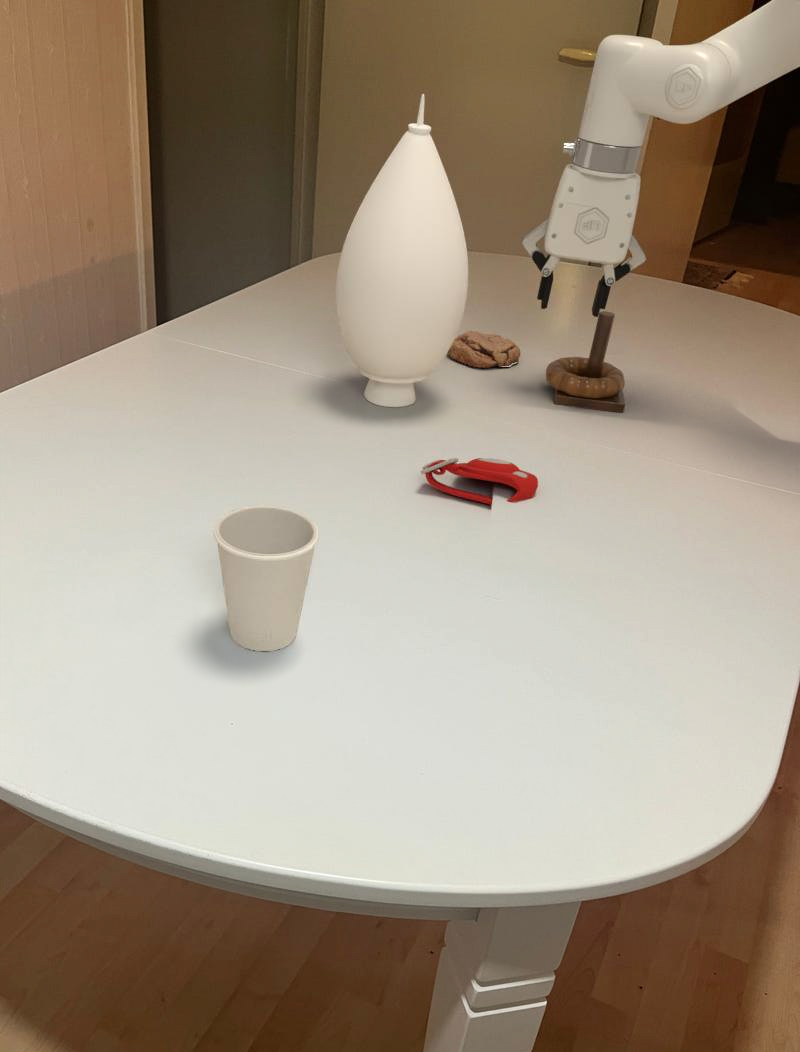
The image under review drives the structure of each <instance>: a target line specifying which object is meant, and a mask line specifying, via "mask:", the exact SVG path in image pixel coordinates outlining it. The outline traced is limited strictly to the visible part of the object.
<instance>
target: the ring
mask: <svg viewBox="0 0 800 1052" xmlns="http://www.w3.org/2000/svg"><path fill="white" fill-rule="evenodd" d="M588 360H589V357H582V356H567V357H560V358H558V359H556V360H553V361H552V362H550V363H548V365H547V366H546V369H545V379H546V382H547V384H548V385H550V386H551V387H552V388H554V390H555V389H557V390H558V391H560V392H563V393H566V394H569V395H572V396H575V397H582V398H590V399H597V398H608V397H612V396H613V395H615V394H617V393H619V392H620V391H622V389H623V390H624V388H625V384H626V381H625V376H624V373H623V371H622V370H621V369H619V368H618V367H616V366H615V365H613V364H611V363H608V362H605V361H604V363H603V367H602V371H601V375H600V378H588V377H585V373H586V368H587V364H588Z"/></svg>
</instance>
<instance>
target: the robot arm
mask: <svg viewBox="0 0 800 1052" xmlns="http://www.w3.org/2000/svg"><path fill="white" fill-rule="evenodd" d="M798 68H800V0H770V1H768V2H767V3H766V4H764V5H762V6H760V7H759V8H757V9H756V10H754V11H752V12H751V13H749V14H748V15H746V16H744V17H743V18H741V19H739V20H738V21H736V22H734V23H733V24H731V25H729V26H727V27H726V28H723V29H722V30H720V31H718V32H716V33H715V34H713V35H712V36H710V37H708V38H706V39H704V40H702V41H701V42H696V43H692V44H681V45H671V44H669V45H668V44H667V45H665V44H663V43H662V42H661V41H659V40H657V39H654V38H650V37H644V36H637V35H628V34H611V35H608V36H606V37H604V38H603V39H602V41H601V42H600V43H599V45H598V48H597V51H596V54H595V58H594V64H593V68H592V73H591V77H590V82H589V85H588V91H587V94H586V98H585V103H584V108H583V113H582V118H581V122H580V127H579V130H578V134H577V135H578V136H577V138H576V139H574V141H570V142H569V141H564V142H563V145H562V146H563V147H562V151H561V155H565V156H567V157H570V160H572V162H571V163H570V164H566V166H565V167H564V169H563V172H562V174H561V177H560V179H559V181H558V182H559V183H558V186H557V189H556V192H555V195H554V198H553V202H552V205H551V209H550V213H549V216H548V218H547V219H546V220H545V221H543V222H542V223H540V225H538V226H536V228H534V229H533V230H531V231H530V232H529V233H527V234H526V235H525V236H524V237H523V238H522V241H521V242H522V246H523V247H524V249H525V250H526V252H527V253H528V255H529V256H530V257H531V259H532V261H533V263H534V265H536V267H537V269H538V270H539V272H540V274H541V277H540V282H539V287H538V291H537V295H536V300H538V301H540V309H541V310H546V309H547V308H548V305H549V300H550V297H551V291H552V287H553V282H554V269H555V268H556V266H557V264H558V263H559V261H560V260H561V259H567V260H574V261H581V262H587V263H596V264H602V267H603V275H601V278H600V279H599V280H598V283H597V287H596V290H595V295H594V299H593V303H592V306H591V315H592V316H593V318H598V316H599V312H601V310H605V309H606V307H607V303H608V299H609V296H610V292H611V288H612V287H613V286H614V285H615V283H617V282H618V281H619V280H621V279H623V278H624V277H625V276H627V275H628V274H630V272H631V271H633V270H635V269H636V268H638V267H639V266H641V265H642V264H644V263H645V262H646V260H647V256H646V253H645V251H644V250H643V248H642V247H641V245H640V243H639V242H638V240H637V238H636V236H635V234H634V233H633V229H634V225H635V221H636V215H637V210H638V205H639V199H640V191H641V178H642V177H641V176H640V175H639V174H638V173H636V171H637V167H638V163H639V159H640V156H641V151H642V148H643V144H644V140H645V136H646V131H647V127H648V124H649V120H650V117H651V116H652V117H655V118H658V119H661V120H664V121H666V122H670V123H674V124H680V125H687V124H693V123H696V122H698V121H701V120H703V119H705V118H706V117H708V116H709V115H711V114H714V113H715V112H717V111H719V110H721V109H723V108H725V107H726V106H728V105H730V104H732V103H734V102H735V101H738V100H740V98H743V97H744V96H747V95H748V94H750V93H752V92H754V91H756V90H758V89H759V88H762V87H763V86H765V85H767V84H769V83H771V82H772V81H774V80H777V79H778V78H780V77H782V76H784V75H786V74H788V73H790V72H792V71H793V70H796V69H798ZM543 238H544V240H543V241H544V242H543V243H544V244H543V246H544V251H545V252H546V253H547V256H545V255H544V253H543V252H542V250H541V249H540V248H539V246H538V244H537V243H538V241H540V240H541V239H543ZM628 250H629V252H630V254H631V256H629V257H628V258H627V259H626V256H627V253H628ZM625 259H626V260H625ZM624 260H625V261H624ZM614 265H616V266H615V267H614Z"/></svg>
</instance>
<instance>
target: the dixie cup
mask: <svg viewBox="0 0 800 1052" xmlns="http://www.w3.org/2000/svg"><path fill="white" fill-rule="evenodd" d="M212 531H213V537H214V540H215V542H216V544H217V551H218V557H219V564H220V570H221V577H222V586H223V591H224V601H225V606H226V613H227V619H228V627H229V635H230V637H231V639H232V641H233V642H235V644H237V645H238V646H240V647H241V648H244V649H246V648H247V649H246V650H249V649H250V651H253V650H255V651H254V652H260V651H269V652H275V650H276V651H279V650H278V649H280V650H282V649H285V648H287V647H288V646H289V645H291V644H292V643H294V642H295V640H296V637H297V634H298V629H299V625H300V624H299V623H300V620H301V614H302V610H303V606H304V600H305V596H306V591H307V585H308V582H309V581H308V580H309V576H310V571H311V567H312V561H313V556H314V551H315V546H316V545H317V544H318V542H319V538H320V530H319V527H318V526H317V525H316V523H315V522H314V521H313V520H312V519H311V518H310V517H308V516H307V515H306V514H304V513H302V512H301V511H297V510H296V509H295V510H294V509H292V508H289V507H284V506H279V505H270V504H268V505H267V504H262V505H261V504H260V505H259V504H258V505H247V506H242V507H239V508H236V509H233V510H231V511H229V512H227V513H225V514H224V515H222V516H221V517H219V519H218V520H217V521H216V523H215V524H214V526H213V530H212ZM286 646H287V647H286Z"/></svg>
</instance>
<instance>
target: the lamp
mask: <svg viewBox="0 0 800 1052" xmlns="http://www.w3.org/2000/svg"><path fill="white" fill-rule="evenodd" d="M425 98H426V97H425V93H422V94H421V96H420V101H419V107H418V113H417V119H416V123H409V124H408V125H407V129H408V130H407V131H406V132H405V133H404V134H403V135H402V136H401V138H400V139H399V141H398V143H397V144H396V146H395V147H394V149H393V150H392V152H391V153H390V155H389V156H388V158H387V159H386V160H385V162H384V164H383V166H382V167H381V168H380V170H379V172H378V174H377V175H376V178H375V179H374V180H373V182H372V183H371V185H370V187H369V189H368V190H367V192H366V194H365V195H364V198H363V199H362V202H361V203H360V205H359V207H358V210H357V212H356V214H355V216H354V217H353V221H352V222H351V224H350V227H349V229H348V232H347V234H346V237H345V240H344V242H343V246H342V249H341V253H340V257H339V263H338V266H337V267H338V268H337V271H336V272H337V274H336V283H335V309H336V315H337V316H336V317H337V322H338V326H339V331H340V335H341V338H342V341H343V344H344V346H345V348H346V352H347V353H348V355H349V357H350V360H352V362H353V363H354V365H356V367H357V368H356V369H357V370H358V372H359V373H360V374H361V375H362V376H364V377H366V378H368V381H367V384H366V387H365V389H364V391H363V396H364V399H365V400H366V401H368V402H369V403H370V404H373V405H376V406H380V407H383V408H384V407H385V408H403V407H408V406H411V405H413V404H415V402H416V401H417V400H416V399H417V398H416V391H415V384H414V383H418V382H421V381H424V380H425V379H427V377H428V375H429V373H432V372H433V371H434V370H435V369H436V368H437V367H438V366H439V365H440V363H441V362H442V361H443V360H444V358H445V357H446V355H447V354H448V350H449V349H450V347H451V345H452V343H453V341H454V339H456V338H457V336H458V333H459V330H460V327H461V324H462V321H463V318H464V314H465V309H466V305H467V297H468V288H469V287H468V286H469V258H468V257H469V256H468V249H467V241H466V236H465V231H464V226H463V223H462V219H461V218H462V217H461V215H460V212H459V211H460V210H459V208H458V205H457V201H456V199H455V195H454V191H453V189H452V186H451V183H450V180H449V178H448V175H447V173H446V170H445V167H444V165H443V161H442V159H441V157H440V154H439V152H438V149H437V146H436V143H435V141H434V139H433V137H432V135H431V132H432V127H431V126H430V125H428V124H424V123H425V122H424V119H425Z"/></svg>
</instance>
